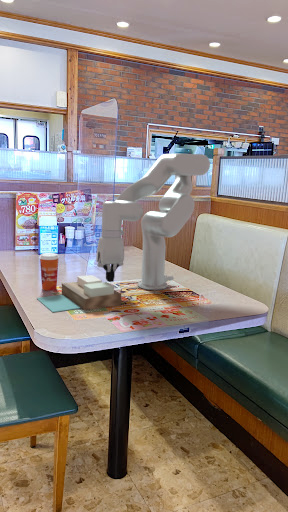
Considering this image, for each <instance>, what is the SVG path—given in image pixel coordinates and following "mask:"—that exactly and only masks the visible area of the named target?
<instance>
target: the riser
mask: <svg viewBox="0 0 288 512" xmlns="http://www.w3.org/2000/svg"><path fill="white" fill-rule="evenodd" d="M61 295H64V296H65V297H67V298H68V299H70V300H71V301H72V302H74V303H75V304H77V305H78V306H79V307H81V308H80V309H82V310H84V311H90V310H95V309H102V307H103V308H108V307H109V308H110V307H114V306H121V305H122V293H120V292H118V291H117V290H115V289H114V294H111V295H104V296H96V297H89V296H88V295H86V294H85V293H84V288H83V287H81V286H79V285H78V284H77V281H72V282H71V281H70V282H62V283H61Z"/></svg>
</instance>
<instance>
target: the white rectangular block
mask: <svg viewBox="0 0 288 512" xmlns="http://www.w3.org/2000/svg"><path fill="white" fill-rule="evenodd" d="M76 278H77V281H76V282H77V284H78V285H79V286H81V287H83V288H84V285H85V284H93V283H102V282H103V280H102V279H100V278H99V277H96V276H94V275H93V274H90V275H78V276H77V277H76Z"/></svg>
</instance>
